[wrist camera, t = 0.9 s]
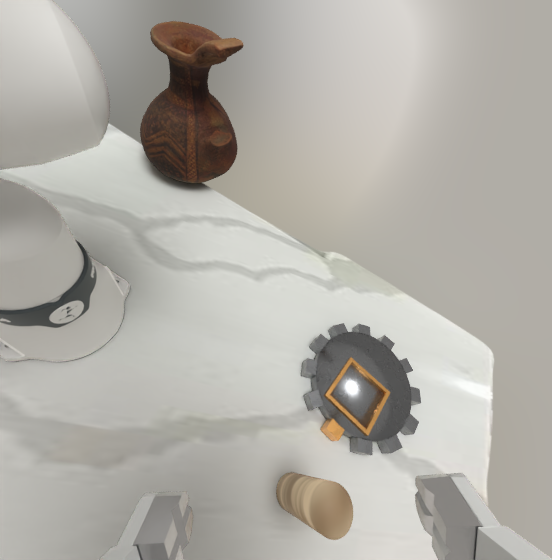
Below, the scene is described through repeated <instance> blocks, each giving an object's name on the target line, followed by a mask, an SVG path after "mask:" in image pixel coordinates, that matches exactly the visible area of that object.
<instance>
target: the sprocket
mask: <svg viewBox="0 0 552 560" xmlns="http://www.w3.org/2000/svg"><path fill="white" fill-rule="evenodd" d="M328 332H329V334H330V336H331V340H329V341H328V340H327V339H326V338H325V337H324V336H323V335H322V334H320V335H319V336H318V337H317V338H316V339H315V340H314V342H313V343H312V344H311V345H310V346H309V347H310V348H311V349H312V350H313V351H314V352H315V353H316V356H315V359H314V360H311V359H308V358H307V359H306V360H305V361H304V362H303V363H302V371H301V376H304V377H308V378H311V385H312V391H313V392H310V393H307V394H305V395H304V396H303V397H304V399H305V402H306V405H307V408H308V411H309V410H312V409H314V408H317V407H319V409H320V411H321V413H322V414H323V416H324V417H325V418H326V421H325V423H324V425H323V426H322V428H321V429H320V430H321V431H322V432H323V433H324V434H325V435H326V436H327V437H328V438H329V439H330V440H331V441H339V439H340V437H341V436H342V434H343V435H345V436H347V437H349V438H350V452H354V453H358V454H362V455H372V441H377V443H378V446H379V448H380V450H381V453H392V452H394V451H396V450H398V449H400V448H402V445H401V443H400V441H399V439H398V437H397V435H396V434H397V433H398V432H399V431H401V432H402V433H403V434H404V435H410V434H414V433H415V430H416V428H417V425H418V423H419V421H417V420H416V419H415V418H414V417H413V416H412V415H411V414H410V410H411V405H415V404H420V403H421V398H420V390H419V389H417V388H414V387H410V384H409V381H408V378H407V375H406V373H408V372H411V371H413V369H412V367H411V366H410V364H409V362H408V360H407V358H406V359H403V360H400V361H399V360H398V359H397V357H396V356H395V355H394V353H393V352H392V351H391V349H392V347H393V346H394V343H393V342H392V341H391V340H390V339H389V338H387V337H386V336H385V335H384V336H383V337H381V338H379V339H378V340H377V339H376V338H374V337H372V336H370V327H368V326H365V325H361V324H358V325H356V326H355V327H354V328H353V332H348V331H347V329H346V327H345V325H344V323H343V324H339V325H335V326H333V327H332V328H331V329H329V330H328Z"/></svg>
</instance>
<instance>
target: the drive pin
mask: <svg viewBox="0 0 552 560" xmlns="http://www.w3.org/2000/svg"><path fill="white" fill-rule="evenodd" d="M276 494H277V499H278V502H279V504H280V506H281V507H282V508H283V509H284V510H286V511H287V512H289V513H290V514H292V515H293V516H295V517H296V518H298V519H299V520H301V521H302V522H304V523H305V524H307V525H308V526H310V527H311V528H313V529H314V530H316V531H317V532H319V533H320V534H322V535H323V536H325V537H326V538H328V539H332V540H336V539H340V538H342V537H343V536H345V535H346V534H347V532H348V531H349V529H350V527H351V524H352V520H353V506H352V502H351V499H350V496H349V494H348V493H347V491H346V490H345V489H344V487H342V486H341V485H340V484H338V483H336V482H333V481H328V480H324V479H319V478H315V477H310V476H306V475H302V474H297V473H292V472H290V473H286V474H285V475H283V476H282V477H281V478H280V480H279V482H278V485H277V490H276Z"/></svg>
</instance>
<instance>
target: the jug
mask: <svg viewBox="0 0 552 560" xmlns="http://www.w3.org/2000/svg"><path fill="white" fill-rule="evenodd" d="M150 34H151V40H152V42H153V44H154V45H155V46H156V47H157V48H158V49H159V50H160V51H161V52H163V53H165V54H166V55H167V56H168V59H169V64H170V83H169V87H168V88H167V89H165V90H164V91H163V92H162V93H160V94H159V95H158V96H157V97H156V98H155V99H154V100H153V101H152V102H151V104H150V105H149V107H148V108H147V111H146V113H145V115H144V116H143V119H142V123H141V128H140V135H141V141H142V145H143V148H144V151H145V153H146V155H147V157H148V159H149V160H150V161H151V162H152V164H153V165H154V166H155V167H156V168H157V169H158V170H159V171H161V172H162V173H163V174H165V175H167V176H169V177H171V178H173V179H176V180H178V181H182V182H187V183H201V182H206V181H208V180H211V179H214V178H216V177H218V176H220V175H222V174H224V173H225V172H227V171H228V170H229V168H230V167H231V166H232V164H233V163H234V160H235V158H236V155H237V142H236V137H235V133H234V130H233V127H232V124H231V122H230V120H229V117H228V115H227V113H226V112H225V110H224V108H223V107H222V106H221V104H220V103H219V102H218V100H216V98H215V97H214V96H212V95H211V94H210V93H209V90H208V83H207V80H208V72H209V70H210V68H211V66H212V65H214V64H219V63H221V62H224V61H226V59H227V57H229V56H231V55H232V54H234V53H236V52H237V51H239V50H240V49H241V48H243V43H242V41H241V40H239V39H236V38H228V39H221V38H220V37H219V36H218V35H216V34H215V33H214V32H212V31H210V30H208V29H206V28H204V27H201V26H198V25H194V24H189V23H184V22H175V21H171V22H164V23H160V24H157V25H155V26H154V27H153V28H152V29H151V32H150Z"/></svg>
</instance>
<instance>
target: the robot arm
mask: <svg viewBox="0 0 552 560" xmlns="http://www.w3.org/2000/svg"><path fill="white" fill-rule="evenodd" d="M109 116H110V100H109V92H108V87H107V83H106V80H105V77H104V74H103V71H102V68H101V66H100V63H99V61H98V59H97V57H96V55H95V53H94V51H93V50H92V48H91V46H90V45H89V43H88V41H87V40H86V38H85V37H84V35H83V34H82V33H81V31H80V30H79V29H78V27H77V26H76V25H75V23H74V22H73V21H72V20H71V19H70V18H69V16H68V15H67V14H66V13H65V12H64V11H63V10H62V9H61V8H60V7H59V6H58V5H57V4H56V3H55V2H54V1H53V0H0V170H2V169H10V168H18V167H26V166H33V165H42V164H45V163H48V162H51V161H54V160H58V159H61V158H64V157H68V156H71V155H74V154H77V153H79V152H82V151H85V150H88V149H91V148H93V147H96V146H98V145H99V144H100V142H101V141H102V139H103V137H104V135H105V132H106V130H107V126H108V123H109ZM117 282H119V283H117ZM129 291H130V285H129V283H128V282H127V281H126V280H125V279H123V278H122V277H120V276H119V275H117V274H116V273H114V272H113V271H111V270H110V269H109V268H108V267H107V266H104V265H102V264H101V263H99V262H98V261H96V260H95V259H93V258H92V257H90V255H89V254H88V252H87V251H85V249H84V248H83V246H82V245H81V244H80V243H79V242H77V241H76V240H75V239H74V237H73V235H72V234H71V232H70V230H69V228H68V227H67V225H66V223H65V221H64V220H63V218H62V216H61V214H60V213H59V211H58V210H57V208H56V207H55V206H54V205H53V204H52V203H51V202H49V201H48V200H47V199H45V198H44V197H43V196H41V195H40V194H38V193H36V192H35V191H33V190H31V189H29V188H28V187H26V186H23V185H21V184H18V183H16V182H12V181H9V180H5V179H1V178H0V356H1V357H2V358H3V359H4V360H6V361H9V362H14V361H22V360H27V359H38V360H43V361H50V362H63V361H70V360H75V359H78V358H81V357H84V356H86V355H89V354H91V353H93V352H95V351H96V350H98V349H99V348H101V347H102V346H104V345H105V344H106V343H107V342H108V341H109V340H110V339H111V338H112V337H113V336H114V335H115V333H116V332H117V331H118V329H119V327H120V325H121V323H122V320H123V317H124V302H125V299H126V297H127V295H128V293H129ZM7 347H8V348H7ZM415 485H416V487H417V489H418V492H417V493H416V494H415V502H416V507H417V512H418V515H419V518H420V521H421V523H422V525H423V528H424V530H425V531H426V532H427V533H428V534H430V535H431V536H432V548H433V550H434V552H435V554H436V556H437V558H438V560H552V559H551V558H550V557H549V556H547V555H546V554H544V553H543V552H542V551H540V550H539V549H537V548H536V547H535V546H533V545H532V544H531V543H529V542H528V541H526V540H525V539H524V538H522V537H521V536H519V535H518V534H517V533H515V532H514V531H513V530H511V529H510V528H508V527H507V526H501V525H500V524H499V522H498V521H497V519H496V518H495V517H494V515H493V514H492V512H491V511H490V509H489V508H488V507H487V505H486V504H485V502H484V501H483V500H482V498H481V497H480V495H479V494H478V493H477V491H476V490H475V488H474V487H473V486H472V484H471V483H470V481H469V480H468V479H467V477H466V476H465V475H464V474H462V473H454V474H435V475H423V476H417V477H416V480H415ZM188 500H189V496H188V493H187V491H182V492H153V493H145V494H144V495H143V496H142V497H141V498H140V500H139V502H138V504H137V506H136V508H135V510H134V512H133V514H132V516H131V518H130V520H129V522H128V524H127V526H126V528H125V530H124V532H123V534H122V536H121V538H120V540H119V542H118V544H117V545H116V547H111V548H110V549H109V550H108V551H107V552H106V553H105V554H104V555H103V556H102V557H101V558H100V559H99V560H184V558H183V554H182V550H183V549H184V548H185V546H186V545H187V544H188V543H189V539H190V536H191V531H192V524H193V513H192V509H191V507H189V506H188V505H187V503H188Z"/></svg>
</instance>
